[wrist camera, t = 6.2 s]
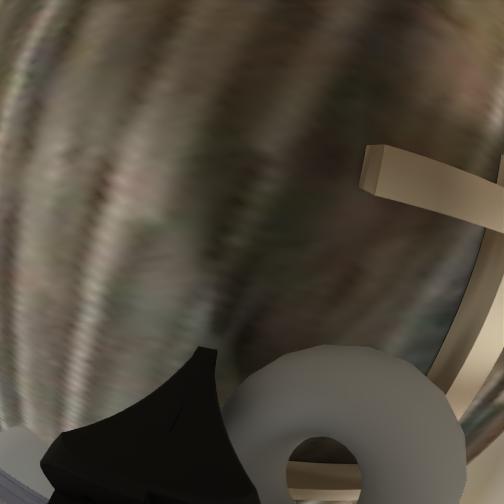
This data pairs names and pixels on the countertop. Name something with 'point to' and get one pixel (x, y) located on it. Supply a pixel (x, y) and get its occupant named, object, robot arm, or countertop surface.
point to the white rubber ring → (349, 424)
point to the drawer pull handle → (471, 308)
